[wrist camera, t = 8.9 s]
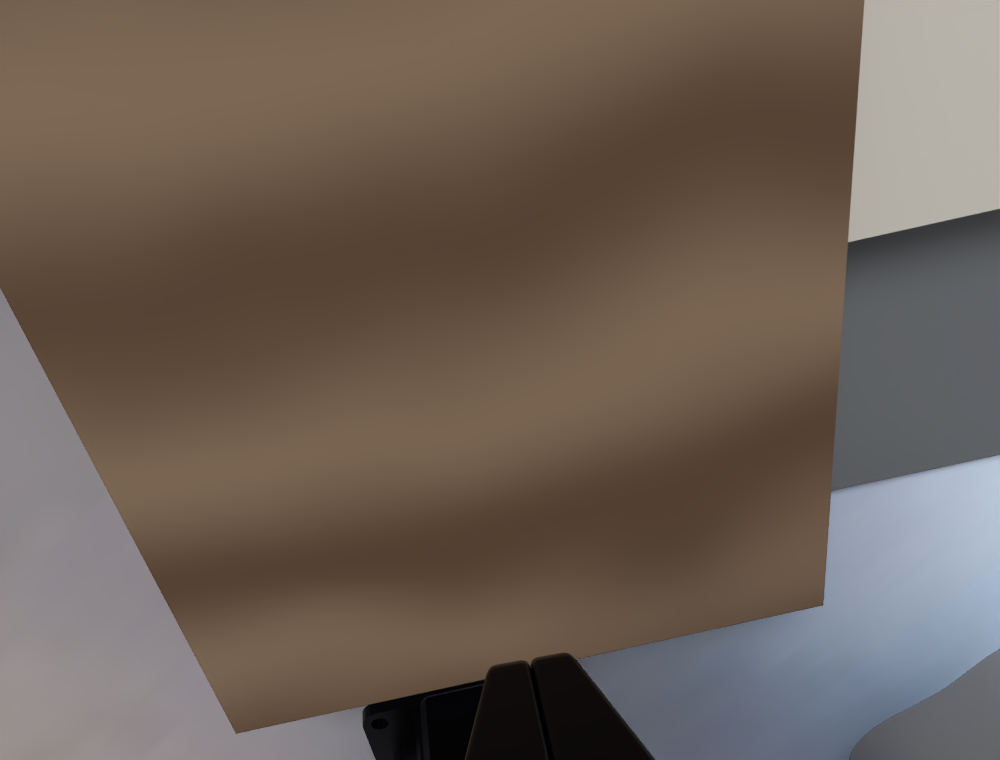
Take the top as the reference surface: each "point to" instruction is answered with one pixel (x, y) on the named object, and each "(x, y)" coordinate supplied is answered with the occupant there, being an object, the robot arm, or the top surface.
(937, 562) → the top surface
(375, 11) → the flat brown block
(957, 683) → the lumpy-topped squat cylinder
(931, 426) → the mat
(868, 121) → the thick cream block
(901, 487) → the top surface
